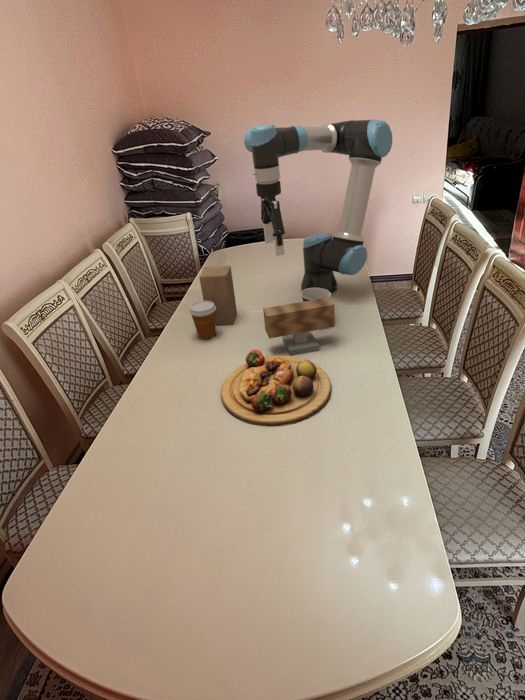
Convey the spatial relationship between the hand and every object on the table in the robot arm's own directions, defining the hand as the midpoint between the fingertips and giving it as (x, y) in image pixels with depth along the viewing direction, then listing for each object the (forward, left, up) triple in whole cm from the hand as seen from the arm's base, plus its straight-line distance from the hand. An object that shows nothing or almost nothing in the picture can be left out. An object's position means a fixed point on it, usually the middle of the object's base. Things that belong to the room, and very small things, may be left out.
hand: (274, 248), depth 149 cm
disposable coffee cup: (+27, -5, -30) cm, 41 cm away
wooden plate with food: (+10, +36, -31) cm, 49 cm away
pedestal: (-3, +14, -30) cm, 33 cm away
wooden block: (+20, -16, -30) cm, 39 cm away
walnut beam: (-3, +14, -23) cm, 28 cm away
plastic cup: (-13, 0, -30) cm, 33 cm away
